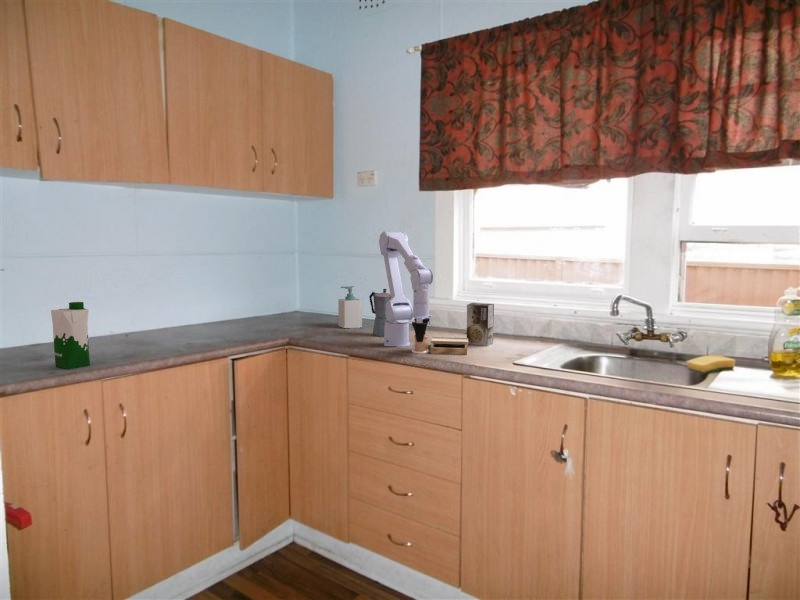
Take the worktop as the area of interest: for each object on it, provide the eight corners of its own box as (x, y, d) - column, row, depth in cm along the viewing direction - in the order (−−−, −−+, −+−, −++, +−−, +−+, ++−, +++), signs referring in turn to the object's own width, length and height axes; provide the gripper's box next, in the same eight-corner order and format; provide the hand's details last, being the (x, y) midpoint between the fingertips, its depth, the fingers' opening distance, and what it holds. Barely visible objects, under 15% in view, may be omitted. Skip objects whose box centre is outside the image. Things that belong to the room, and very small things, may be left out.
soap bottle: (338, 326, 256) (337, 285, 254) (355, 325, 260) (355, 285, 258) (344, 328, 249) (343, 287, 246) (362, 327, 252) (362, 286, 250)
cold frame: (430, 354, 194) (430, 347, 194) (432, 346, 210) (433, 339, 210) (467, 355, 193) (467, 348, 192) (466, 347, 208) (467, 340, 208)
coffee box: (493, 344, 214) (494, 303, 213) (487, 347, 209) (488, 305, 207) (472, 342, 219) (473, 302, 217) (465, 344, 213) (466, 303, 212)
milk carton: (94, 365, 174) (91, 302, 172) (64, 370, 166) (60, 305, 164) (80, 361, 179) (77, 300, 177) (50, 366, 171) (46, 303, 169)
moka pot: (389, 338, 225) (389, 290, 223) (361, 334, 234) (361, 288, 232) (403, 335, 233) (403, 288, 230) (375, 331, 242) (375, 286, 240)
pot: (427, 351, 195) (427, 336, 194) (413, 351, 195) (413, 336, 195) (428, 349, 200) (428, 334, 199) (414, 348, 200) (414, 334, 200)
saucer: (410, 354, 195) (410, 351, 195) (412, 350, 201) (412, 348, 201) (428, 354, 194) (428, 352, 194) (430, 351, 200) (430, 348, 200)
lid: (430, 343, 202) (430, 340, 202) (432, 339, 211) (432, 336, 210) (468, 344, 200) (468, 342, 200) (468, 340, 209) (468, 337, 209)
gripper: (431, 305, 188) (430, 344, 190) (433, 300, 202) (432, 336, 204) (410, 304, 189) (410, 343, 190) (414, 300, 203) (414, 336, 205)
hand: (420, 339), depth 197 cm, fingers open, 7 cm apart
